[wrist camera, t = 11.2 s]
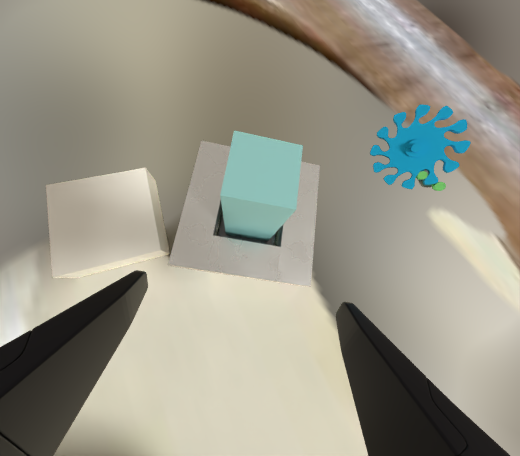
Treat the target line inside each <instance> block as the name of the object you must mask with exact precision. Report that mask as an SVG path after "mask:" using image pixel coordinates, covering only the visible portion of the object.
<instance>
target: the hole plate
mask: <svg viewBox="0 0 520 456" xmlns="http://www.w3.org/2000/svg"><path fill="white" fill-rule="evenodd" d="M230 148H231V147H230V146H225V145H220V144H215V143H211V142H206V141H201V143H200V147H199V151H198V155H197V158H196V162H195V166H194V170H193V173H192V177H191V181H190V184H189V188H188V192H187V196H186V199H185V203H184V207H183V210H182V214H181V218H180V221H179V225H178V229H177V233H176V236H175V240H174V244H173V248H172V251H171V255H170V259H169V262H168V265H171V266H175V267H181V268H187V269H194V270H200V271H207V272H213V273H219V274H226V275H232V276H239V277H245V278H252V279H258V280H264V281H271V282H277V283H284V284H290V285H297V286H305V287H311V274H312V261H313V248H314V234H315V221H316V208H317V195H318V182H319V169H320V166H319V165H314V164H310V163H305V162H301V168H300V178H299V188H298V197H297V207H296V210H295V212H294V213H293V214H292V215H291V216H290V217H289V218H288V219H287V221H286V222H285V223H284V224H283V225H282V226H281V227H280V228H279V229H278V231H277V238H276V246H274V242H275V234H276V233H275V234H274V235H273V236H272V237H271V238H270V239H269V241H264V240H258V239H252V238H246V237H240V236H235V235H229V234H226V232H225V225H224V218H223V215H222V220H221V225H220V229H219V234H218V236H217V231H218V226H219V221H220V217H221V212H222V204H221V197H220V194H221V189H222V185H223V180H224V175H225V171H226V166H227V162H228V157H229V152H230Z"/></svg>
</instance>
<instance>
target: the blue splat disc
mask: <svg viewBox="0 0 520 456" xmlns="http://www.w3.org/2000/svg"><path fill="white" fill-rule="evenodd" d="M429 110H430V106H428V105H419V106H418V107H417V109H416V111H415V119H414V121H413V123H412V124H411V125H410V126H409V127H408V128H403V127H402V125H401V124H402V123H403V121H404V120H405V118H406V113H405V112H401V113H398V114H396V115H394V118H393V121H394V123H395V124H396V125H397V136H396V137H395V138H389V137H388V128H387V127H383V128H382V129H380V130H379V131H378V132H377V136H378V137H379V138H382V139H384V140H385V141H386V142H387V143H388V145H389V150H388V151H386V152H383V151H382V150H381V149H380V147H379V146H378V145H374V146H373V147H372V149H371V152H370V155H372V156H376V155H383V156H385V157H388V158H389V159H390V163H389V164H387V165H383V164H382V163H379V162H377V163H374V165H373V167H374V172H380V171H381V170H383V169H385V168H390V167H395V168H397V169H398V173H397V174H395V175H387V176H385V178H384V180H385V182H386V183H387V184H388V185H391V184H392V183H393V182H394V181H395V179H396V178H397V177H398V176H399V175H401V174H403V173H405V172H410V173H411V174H412V176H411V178H410V179H408V180H406V181H404V182H403V183H402V187H405V188H407V189H412V188H413V187H414V183H415V178H417V179H418V180H419V183H420V184H421V186H423V187H431V186H432V188H433V189H434V190H437V191H441V190H443V189H445V187H446V185H445V183H443V182H438V178H437V177H436V175H435V174H434V165H435V162H436V161H437V160H442V161H443V162H444V165H443V170H444V172H446V173H448V172H451V171H453V170H455V169H456V168H458V167H459V163H458V162H456V161H452V160H450V159H449V158H448V157H447V156H446V155H445V153H444V148H445V147H446V146H451V147H452V148H453V149H454V151H455V152H456V153H464V152H465V151H466V150H467V149H468V147H469V145H470V143H471V142H470V141H466V140H465V141H459V142H454V141H450V140H448V139H446V138H445V137H444V133H445V132H447V131H451V132H453V133H457V134H458V133H462V132H464V131H465V130H466V129H467V121H466V120H460V121H458V122H457V123H455V124H453V125H451V126H448V127H443V128H436V127H435V126H434V123H435V122H436V121H438V120H445V119H447V118H449V117H450V116H451V115H452V114H453V111H452V109H451V108H449V107H448V106H445V107H443V108H442V109H441V110H440V111H439V112H438V114H437V115H436V117H435V118H433V119H432V120H431V121H429V122H427V123H425V124H420V123H419V121H418V120H419V118H421V117H423V116H424V115H426V114H427V113H428V111H429Z"/></svg>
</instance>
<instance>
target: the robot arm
mask: <svg viewBox="0 0 520 456" xmlns="http://www.w3.org/2000/svg"><path fill="white" fill-rule="evenodd" d="M147 288H148V282H147V274H146V272H144V271H134V272H132V273H130V274H128V275H127V276H125V277H123V278H121V279H120V280H118V281H116V282H114V283H112V284H111V285H109V286H107V287H105V288H104V289H102V290H100V291H98V292H97V293H95V294H93V295H91V296H90V297H88V298H86V299H84V300H83V301H81V302H79V303H77V304H76V305H74V306H72V307H70V308H69V309H67V310H65V311H63V312H62V313H60V314H58V315H56V316H55V317H53V318H51V319H49V320H48V321H46V322H44V323H42V324H41V325H39V326H37V327H35V328H34V329H33V330H32V331H28V332H26V333H25V334H23V335H21V336H19V337H18V338H16V339H14V340H12V341H11V342H9V343H7V344H5V345H3V346H1V347H0V456H53V455H54V453H55V452H56V450H57V448H58V447H59V445H60V443H61V442H62V440H63V438H64V437H65V435H66V433H67V432H68V430H69V428H70V426H71V425H72V423H73V421H74V420H75V418H76V416H77V415H78V413H79V411H80V410H81V408H82V406H83V405H84V403H85V401H86V400H87V398H88V396H89V394H90V393H91V391H92V389H93V388H94V386H95V384H96V383H97V381H98V379H99V378H100V376H101V374H102V373H103V371H104V369H105V368H106V366H107V364H108V362H109V361H110V359H111V357H112V356H113V354H114V352H115V351H116V349H117V347H118V346H119V344H120V342H121V341H122V339H123V337H124V336H125V334H126V332H127V330H128V329H129V327H130V325H131V323H132V321H133V319H134V317H135V315H136V313H137V311H138V308H139V306H140V304H141V302H142V300H143V297H144V295H145V293H146V291H147ZM336 321H337V328H338V334H339V340H340V346H341V352H342V356H343V360H344V364H345V367H346V371H347V375H348V379H349V383H350V387H351V390H352V394H353V398H354V402H355V406H356V410H357V414H358V417H359V421H360V425H361V429H362V433H363V437H364V440H365V444H366V448H367V452H368V456H510V455H509V454H508V453H507V452H506V451H505V450H503V448H501V447H500V446H499V445H498V444H497V443H496V442H495V441H494V440H493V439H491V438H490V437H489V436H488V435H487V434H486V433H485V432H484V431H483V430H482V429H480V428H479V427H478V426H477V425H476V424H475V423H474V422H473V421H472V420H471V419H470V418H469V417H467V416H466V415H465V414H464V413H463V412H462V411H461V410H460V409H459V408H458V407H457V406H456V405H455V404H453V403H452V402H451V401H450V400H449V399H448V398H447V397H446V396H445V395H444V394H443V393H442V392H441V391H440V390H439V389H438V388H437V387H436V386H435V385H434V384H433V383H432V382H431V381H430V380H429V379H428V378H426V376H425V375H424V374H423V373H422V372H421V371H420V370H419V369H418V368H417V367H416V366H415V365H414V364H413V363H412V362H411V361H410V360H409V359H408V358H407V357H406V356H405V355H404V354H403V353H402V352H401V351H400V350H399V349H398V348H397V347H396V346H395V345H394V344H393V343H392V342H391V341H390V340H389V339H388V338H387V337H386V336H385V335H384V334H383V333H382V332H381V331H380V330H379V329H378V328H377V327H376V326H375V325H374V324H373V323H372V322H371V321H370V320H369V319H368V318H367V317H366V316H365V315H364V314H363V313H362V312H361V311H360V310H359V309H358V308H357V307H356V306H355V305H354V304H353V303H349V302H343V303H342V304H341V306H340V307H339V309H338V311H337V313H336Z"/></svg>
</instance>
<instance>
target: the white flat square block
mask: <svg viewBox="0 0 520 456" xmlns="http://www.w3.org/2000/svg"><path fill="white" fill-rule="evenodd" d="M46 196H47V210H48V223H49V224H48V225H49V239H50V254H51V268H52V278H80V277H84V276H88V275H92V274H95V273H99V272H103V271H107V270H111V269H115V268H119V267H122V266H126V265H130V264H134V263H138V262H142V261H146V260H149V259H153V258H157V257H161V256H165V255H169V254H170V251H169V246H168V241H167V236H166V231H165V225H164V220H163V216H162V210H161V205H160V200H159V195H158V190H157V185H156V181H155V179H154V178H153V177H152V176H151V174H150V173H149V172H148V171H147V169H146V168H140V169H134V170H128V171H123V172H117V173H111V174H106V175H100V176H94V177H88V178H83V179H77V180H71V181H65V182H60V183H54V184H49V185H46Z"/></svg>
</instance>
